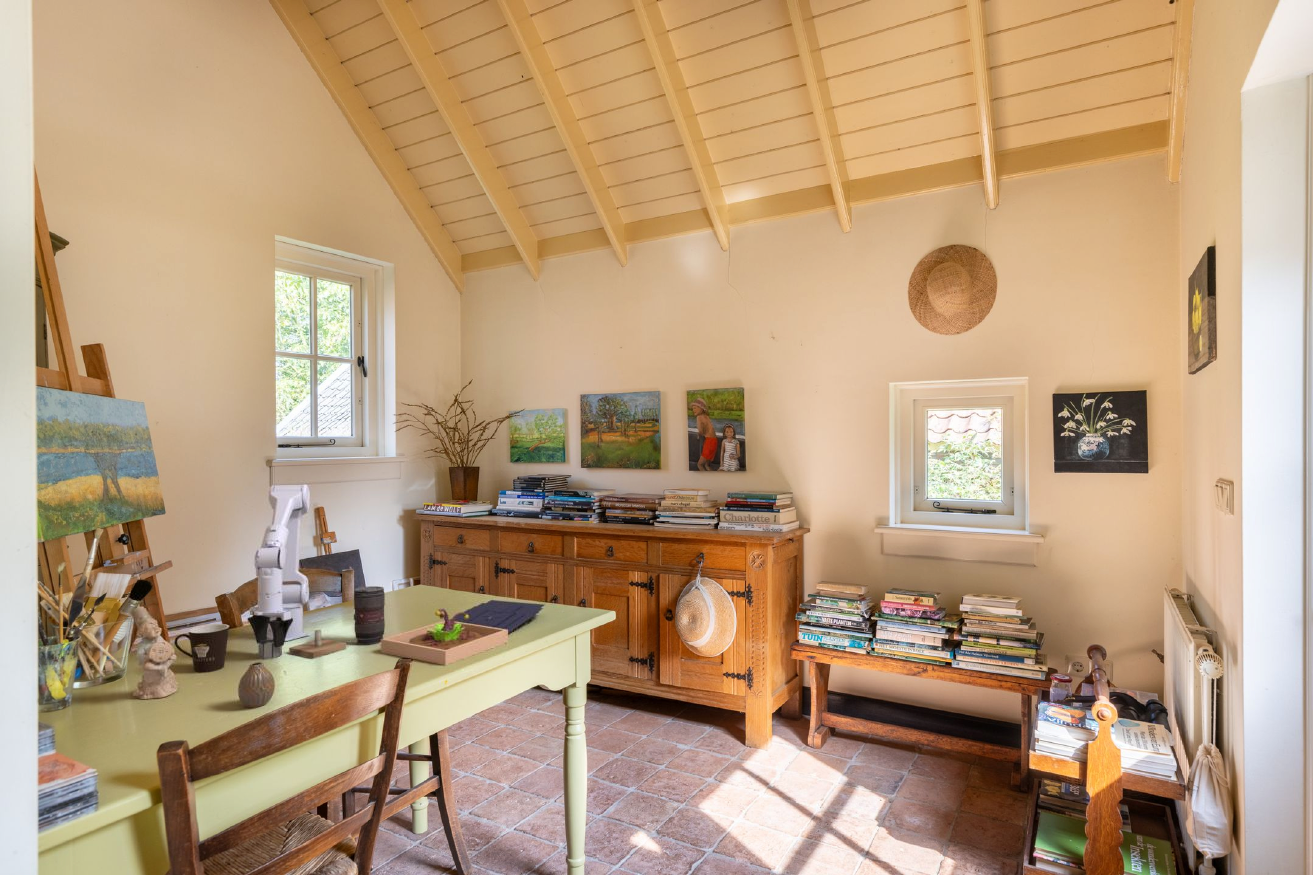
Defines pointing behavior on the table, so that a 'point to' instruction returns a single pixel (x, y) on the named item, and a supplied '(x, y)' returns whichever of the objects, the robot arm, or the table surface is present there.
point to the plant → (446, 634)
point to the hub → (268, 649)
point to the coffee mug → (207, 647)
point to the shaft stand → (317, 647)
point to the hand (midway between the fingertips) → (270, 644)
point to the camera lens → (369, 614)
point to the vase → (256, 686)
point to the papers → (500, 614)
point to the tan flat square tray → (403, 648)
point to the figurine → (153, 658)
